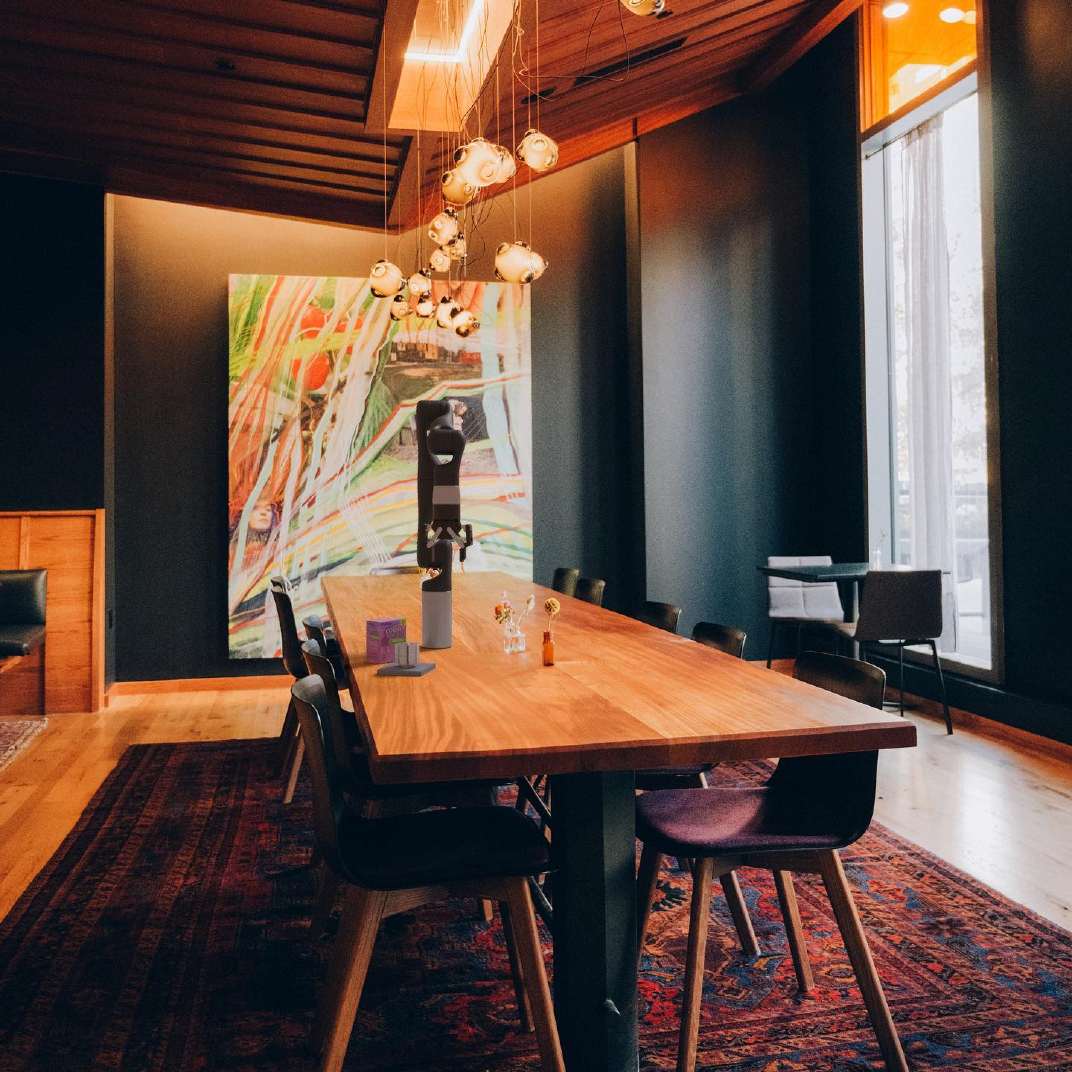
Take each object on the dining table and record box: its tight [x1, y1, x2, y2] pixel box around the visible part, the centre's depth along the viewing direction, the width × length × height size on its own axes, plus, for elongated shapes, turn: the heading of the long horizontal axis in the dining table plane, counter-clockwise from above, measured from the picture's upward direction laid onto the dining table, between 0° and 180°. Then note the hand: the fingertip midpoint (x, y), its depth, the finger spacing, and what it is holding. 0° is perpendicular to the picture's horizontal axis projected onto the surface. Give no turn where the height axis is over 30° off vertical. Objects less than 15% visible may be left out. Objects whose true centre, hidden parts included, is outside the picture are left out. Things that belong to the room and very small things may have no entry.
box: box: [365, 616, 407, 665], centre depth 260 cm, size 10×6×12 cm, turn 143°
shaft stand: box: [376, 643, 437, 677], centre depth 244 cm, size 12×12×7 cm
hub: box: [394, 641, 420, 665], centre depth 244 cm, size 6×6×5 cm
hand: (446, 561), depth 255 cm, fingers open, 8 cm apart
